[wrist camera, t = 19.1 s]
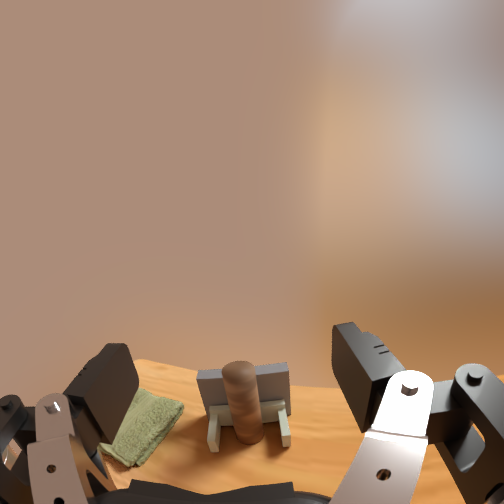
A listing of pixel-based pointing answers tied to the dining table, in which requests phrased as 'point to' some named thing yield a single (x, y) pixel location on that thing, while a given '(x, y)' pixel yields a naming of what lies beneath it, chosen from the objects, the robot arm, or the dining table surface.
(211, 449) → the bracket
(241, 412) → the dowel
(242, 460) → the dining table surface
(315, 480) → the dining table surface
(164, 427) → the washcloth
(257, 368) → the wall
